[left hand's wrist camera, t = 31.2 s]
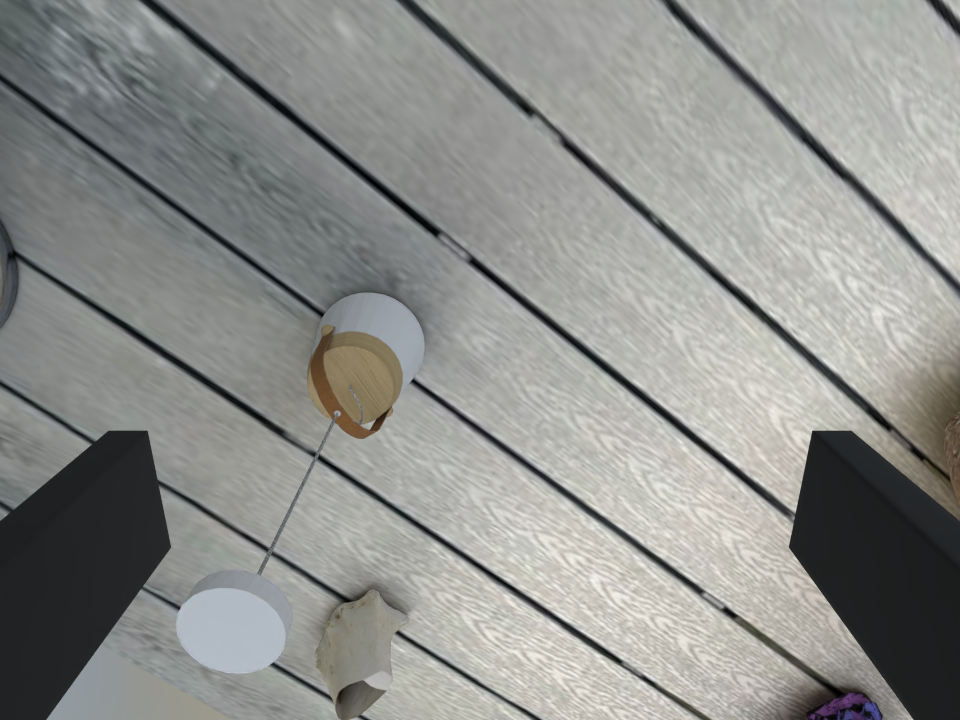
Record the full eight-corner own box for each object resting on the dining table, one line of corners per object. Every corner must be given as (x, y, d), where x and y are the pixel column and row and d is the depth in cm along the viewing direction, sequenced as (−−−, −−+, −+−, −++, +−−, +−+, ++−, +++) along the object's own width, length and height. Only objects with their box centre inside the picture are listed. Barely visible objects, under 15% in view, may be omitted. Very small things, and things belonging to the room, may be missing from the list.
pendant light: (446, 357, 50) (402, 663, 22) (359, 407, 51) (214, 754, 23) (386, 269, 47) (250, 484, 19) (297, 324, 49) (51, 599, 21)
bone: (376, 567, 59) (331, 609, 50) (433, 628, 58) (398, 683, 49) (314, 631, 61) (258, 684, 51) (368, 691, 60) (322, 757, 50)
